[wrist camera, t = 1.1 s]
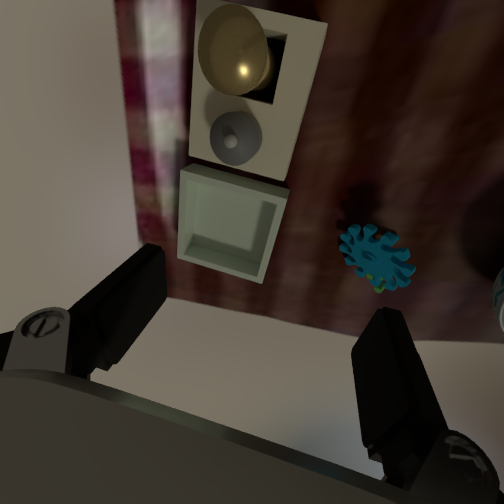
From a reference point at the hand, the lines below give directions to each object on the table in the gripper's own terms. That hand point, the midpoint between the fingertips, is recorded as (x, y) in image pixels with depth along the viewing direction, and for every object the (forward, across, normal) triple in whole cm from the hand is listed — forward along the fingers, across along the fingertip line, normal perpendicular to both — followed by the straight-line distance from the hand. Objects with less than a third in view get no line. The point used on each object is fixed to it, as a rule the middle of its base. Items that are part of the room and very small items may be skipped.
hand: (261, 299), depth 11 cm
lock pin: (+25, +7, -9) cm, 28 cm away
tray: (+25, +8, +10) cm, 28 cm away
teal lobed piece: (+25, -12, +9) cm, 30 cm away
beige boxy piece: (+25, +7, -6) cm, 27 cm away
